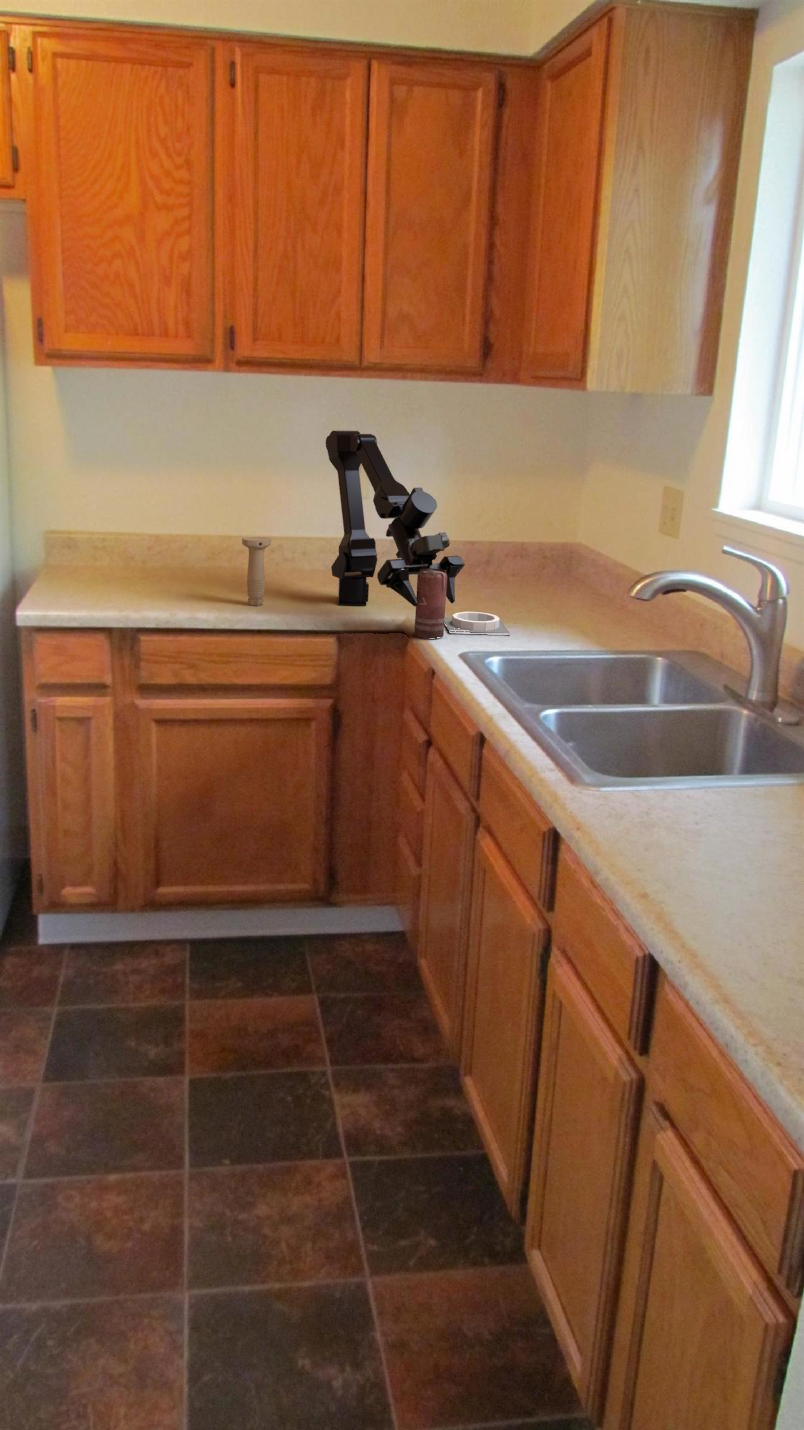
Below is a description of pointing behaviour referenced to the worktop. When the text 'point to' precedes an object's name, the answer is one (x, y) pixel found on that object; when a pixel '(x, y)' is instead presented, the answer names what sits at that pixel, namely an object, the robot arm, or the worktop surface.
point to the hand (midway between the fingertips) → (434, 603)
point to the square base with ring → (475, 623)
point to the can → (430, 603)
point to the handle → (256, 568)
